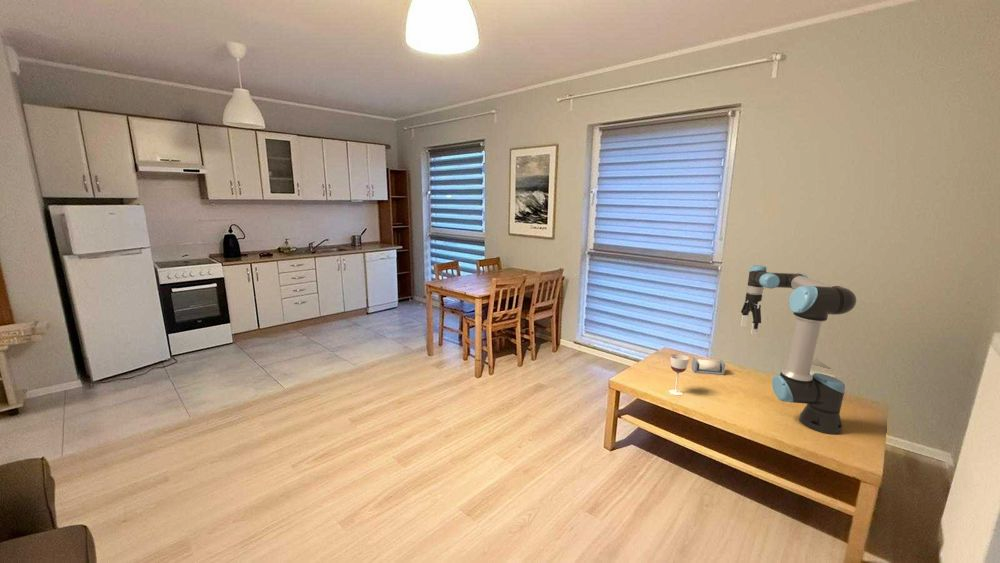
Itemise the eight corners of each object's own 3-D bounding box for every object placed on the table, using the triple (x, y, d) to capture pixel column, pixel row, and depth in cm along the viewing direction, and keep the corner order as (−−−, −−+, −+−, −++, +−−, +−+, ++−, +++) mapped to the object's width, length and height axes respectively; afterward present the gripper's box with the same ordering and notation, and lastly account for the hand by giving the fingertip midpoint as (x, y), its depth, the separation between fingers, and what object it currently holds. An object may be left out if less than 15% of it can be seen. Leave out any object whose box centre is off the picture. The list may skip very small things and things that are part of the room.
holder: (723, 375, 230) (725, 364, 229) (694, 372, 233) (695, 361, 232) (720, 370, 236) (721, 359, 235) (691, 368, 239) (692, 357, 238)
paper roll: (716, 370, 235) (716, 360, 236) (720, 371, 230) (720, 361, 230) (696, 369, 237) (696, 358, 238) (699, 369, 232) (699, 359, 232)
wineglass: (687, 396, 204) (691, 360, 200) (670, 396, 205) (674, 359, 200) (680, 389, 212) (684, 354, 208) (664, 388, 212) (668, 353, 208)
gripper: (772, 299, 205) (766, 338, 209) (752, 288, 229) (746, 323, 233) (756, 298, 206) (750, 337, 210) (737, 288, 230) (732, 322, 234)
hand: (748, 330), depth 222 cm, fingers open, 13 cm apart
